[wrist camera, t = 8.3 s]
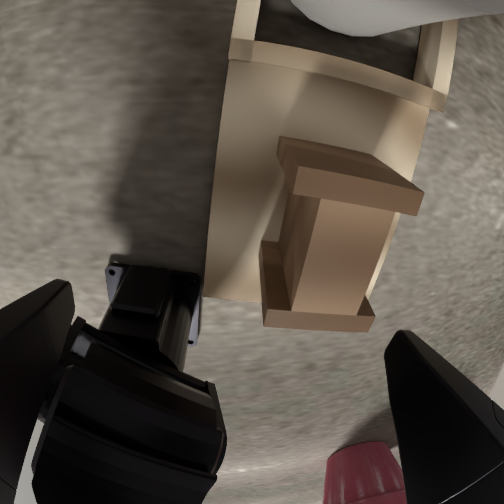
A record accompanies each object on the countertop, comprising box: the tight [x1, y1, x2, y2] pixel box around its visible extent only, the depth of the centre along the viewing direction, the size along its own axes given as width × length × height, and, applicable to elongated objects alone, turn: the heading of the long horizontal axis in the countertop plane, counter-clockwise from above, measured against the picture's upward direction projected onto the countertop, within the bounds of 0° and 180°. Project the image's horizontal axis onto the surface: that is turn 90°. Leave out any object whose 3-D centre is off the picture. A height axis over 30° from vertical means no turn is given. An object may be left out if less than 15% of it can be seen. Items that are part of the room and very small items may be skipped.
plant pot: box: [323, 441, 407, 504], centre depth 32 cm, size 14×14×13 cm
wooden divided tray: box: [203, 0, 459, 332], centre depth 12 cm, size 25×11×7 cm, turn 172°
